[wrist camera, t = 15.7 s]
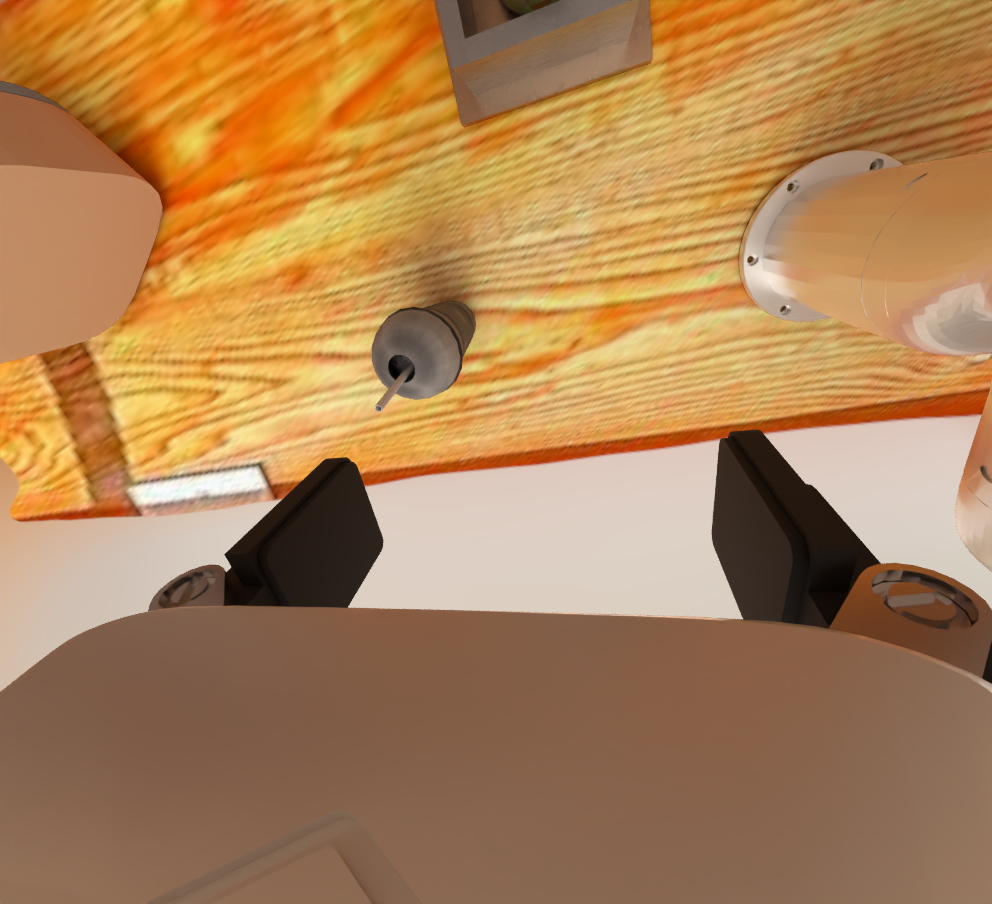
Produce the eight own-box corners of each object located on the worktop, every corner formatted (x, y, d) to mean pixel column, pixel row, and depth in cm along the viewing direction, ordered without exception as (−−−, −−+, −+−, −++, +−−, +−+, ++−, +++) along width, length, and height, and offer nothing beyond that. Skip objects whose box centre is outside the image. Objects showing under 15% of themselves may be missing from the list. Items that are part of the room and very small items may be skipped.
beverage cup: (487, 286, 42) (424, 333, 25) (490, 358, 45) (436, 445, 28) (417, 286, 43) (309, 332, 26) (424, 357, 46) (334, 439, 29)
